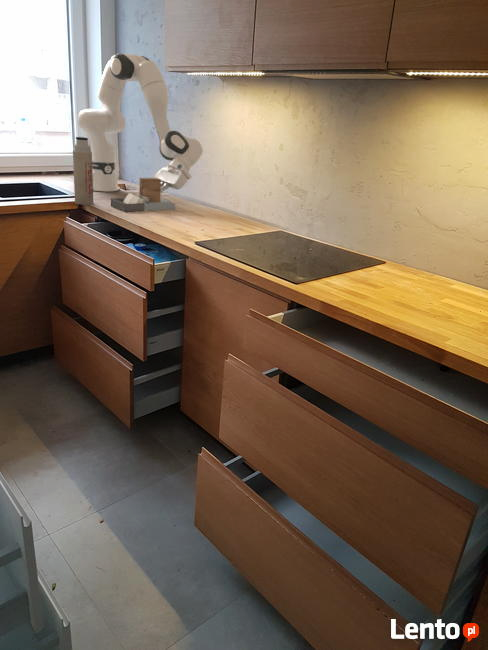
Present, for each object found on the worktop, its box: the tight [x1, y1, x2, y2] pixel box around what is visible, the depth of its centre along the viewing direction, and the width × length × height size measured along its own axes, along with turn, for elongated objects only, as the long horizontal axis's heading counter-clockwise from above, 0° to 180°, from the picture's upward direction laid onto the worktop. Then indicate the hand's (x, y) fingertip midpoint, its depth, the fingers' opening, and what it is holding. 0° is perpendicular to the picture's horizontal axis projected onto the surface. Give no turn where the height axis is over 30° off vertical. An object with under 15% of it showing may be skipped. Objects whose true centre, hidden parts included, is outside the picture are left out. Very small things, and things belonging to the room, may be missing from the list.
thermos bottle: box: [72, 136, 94, 206], centre depth 217 cm, size 8×8×28 cm
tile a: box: [123, 192, 134, 204], centre depth 223 cm, size 5×5×2 cm
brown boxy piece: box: [133, 177, 162, 204], centre depth 224 cm, size 12×9×10 cm
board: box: [142, 197, 176, 212], centre depth 228 cm, size 12×16×3 cm
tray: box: [110, 197, 145, 213], centre depth 219 cm, size 13×10×4 cm
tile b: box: [130, 194, 144, 204], centre depth 219 cm, size 5×5×2 cm
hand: (158, 191), depth 227 cm, fingers closed, pressing on brown boxy piece
